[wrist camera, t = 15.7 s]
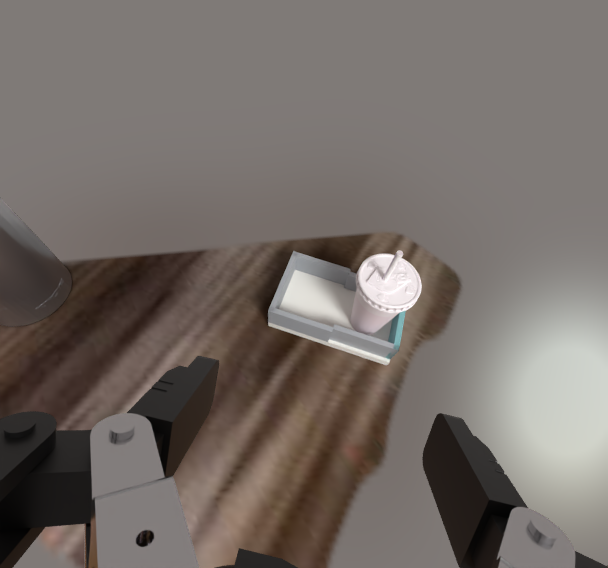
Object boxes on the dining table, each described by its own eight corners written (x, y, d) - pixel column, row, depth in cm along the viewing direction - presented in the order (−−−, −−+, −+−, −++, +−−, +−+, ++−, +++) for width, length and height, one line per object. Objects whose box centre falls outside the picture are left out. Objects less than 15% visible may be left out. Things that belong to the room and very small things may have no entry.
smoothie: (334, 300, 41) (360, 226, 29) (382, 295, 42) (426, 221, 31) (346, 349, 38) (381, 288, 26) (398, 342, 39) (454, 280, 27)
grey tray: (268, 325, 40) (268, 310, 37) (291, 268, 44) (293, 251, 41) (386, 365, 39) (398, 354, 35) (398, 302, 43) (409, 287, 40)
